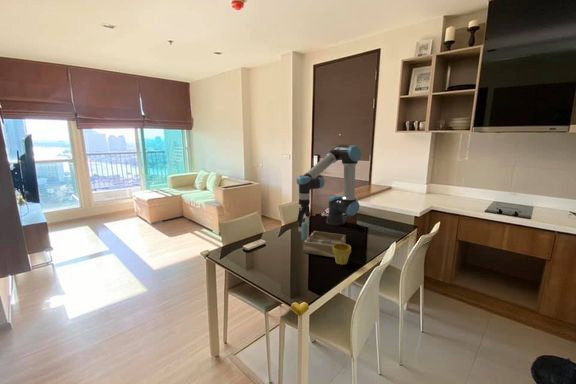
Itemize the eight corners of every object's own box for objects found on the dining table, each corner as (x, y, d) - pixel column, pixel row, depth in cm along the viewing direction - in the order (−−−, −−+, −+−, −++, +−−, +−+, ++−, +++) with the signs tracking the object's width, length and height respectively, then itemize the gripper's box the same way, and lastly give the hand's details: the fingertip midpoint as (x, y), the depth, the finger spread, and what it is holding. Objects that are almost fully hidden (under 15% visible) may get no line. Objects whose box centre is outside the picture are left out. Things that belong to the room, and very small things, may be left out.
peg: (302, 238, 198) (302, 222, 195) (307, 238, 196) (307, 222, 194) (300, 240, 194) (300, 223, 192) (305, 240, 192) (306, 224, 190)
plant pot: (339, 268, 153) (340, 251, 151) (328, 260, 162) (329, 245, 160) (354, 264, 157) (354, 248, 155) (342, 257, 166) (343, 241, 164)
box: (314, 240, 193) (314, 230, 192) (345, 244, 185) (345, 234, 184) (303, 252, 173) (303, 241, 172) (338, 258, 165) (338, 247, 164)
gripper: (305, 194, 202) (304, 222, 206) (292, 202, 179) (292, 233, 183) (314, 195, 199) (314, 223, 203) (303, 203, 176) (302, 234, 180)
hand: (303, 228), depth 193 cm, fingers open, 13 cm apart
